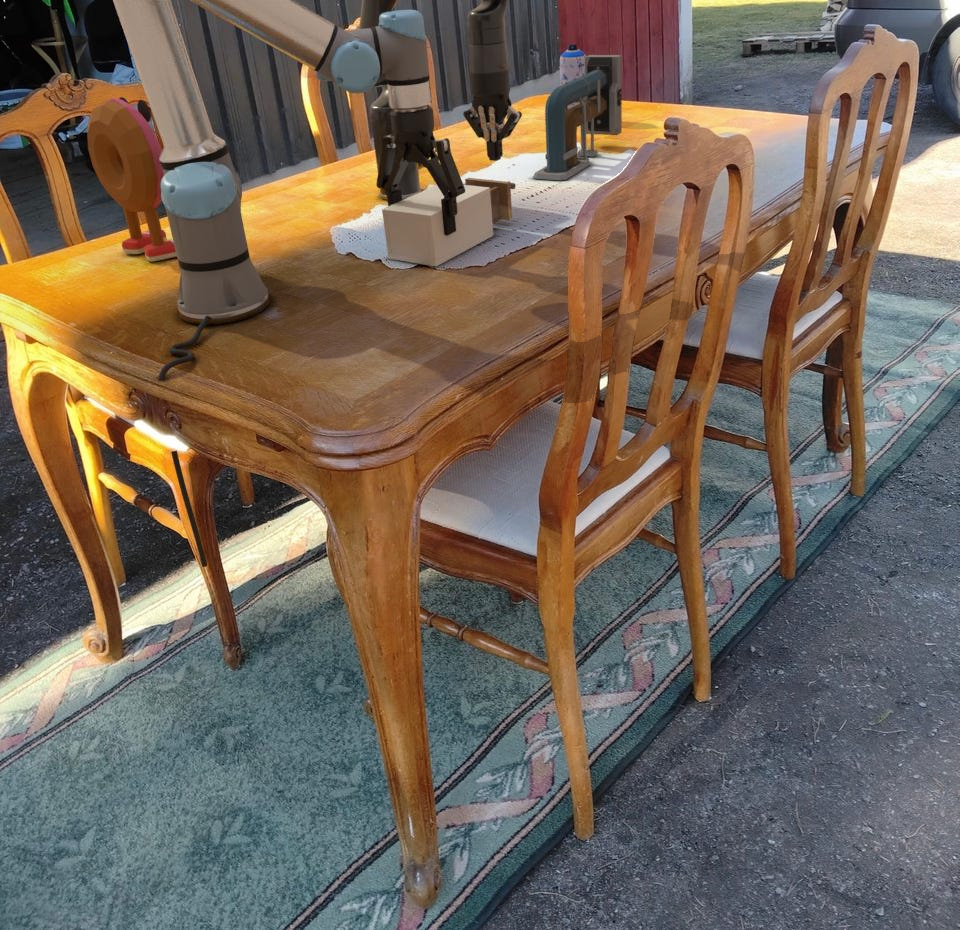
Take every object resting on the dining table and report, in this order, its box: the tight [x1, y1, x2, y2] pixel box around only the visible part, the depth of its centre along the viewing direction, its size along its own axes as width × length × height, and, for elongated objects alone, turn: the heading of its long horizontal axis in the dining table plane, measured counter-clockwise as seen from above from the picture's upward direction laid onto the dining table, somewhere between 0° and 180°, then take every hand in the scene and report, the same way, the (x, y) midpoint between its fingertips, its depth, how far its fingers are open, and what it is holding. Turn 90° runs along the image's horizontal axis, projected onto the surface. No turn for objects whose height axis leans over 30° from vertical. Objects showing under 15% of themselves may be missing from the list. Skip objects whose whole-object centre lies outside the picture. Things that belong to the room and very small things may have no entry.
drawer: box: [463, 177, 517, 225], centre depth 192 cm, size 23×10×7 cm, turn 145°
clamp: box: [532, 54, 623, 181], centre depth 230 cm, size 35×9×21 cm, turn 151°
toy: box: [86, 96, 177, 263], centre depth 189 cm, size 21×10×30 cm, turn 47°
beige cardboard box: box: [381, 184, 494, 267], centre depth 184 cm, size 19×11×10 cm, turn 145°
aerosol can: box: [559, 43, 587, 109], centre depth 273 cm, size 8×8×20 cm
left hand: (424, 229), depth 181 cm, fingers closed on beige cardboard box, 11 cm apart
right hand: (495, 159), depth 194 cm, fingers closed
